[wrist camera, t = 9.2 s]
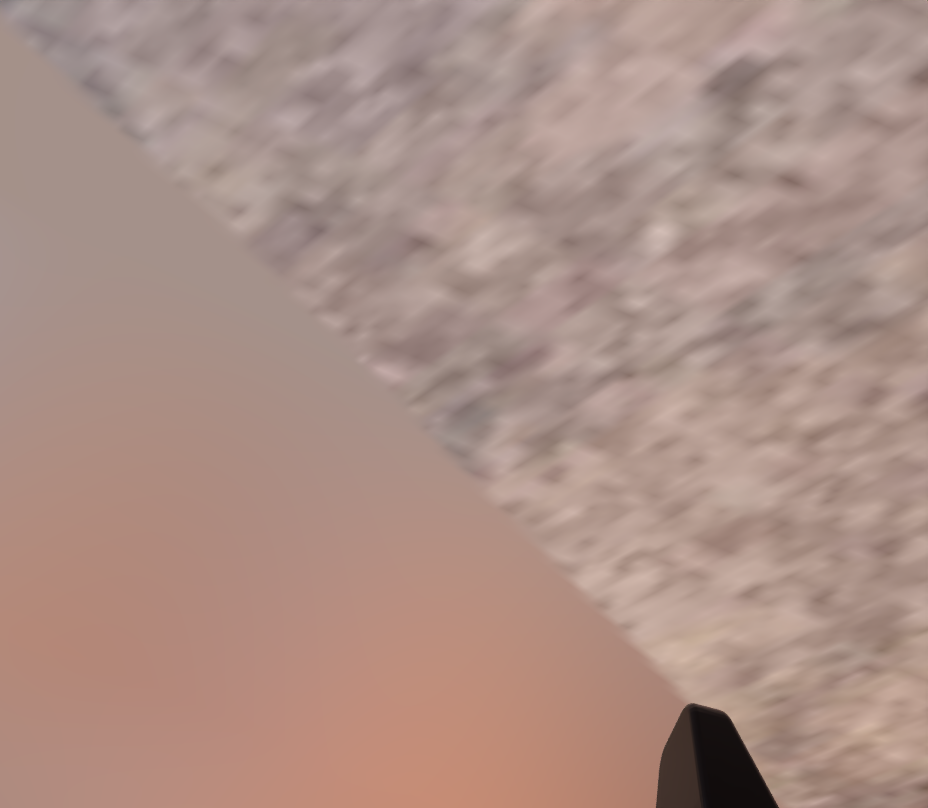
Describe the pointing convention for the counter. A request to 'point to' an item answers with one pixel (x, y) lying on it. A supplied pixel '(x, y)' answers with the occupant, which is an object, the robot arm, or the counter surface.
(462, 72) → the counter surface
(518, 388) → the counter surface
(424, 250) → the counter surface
